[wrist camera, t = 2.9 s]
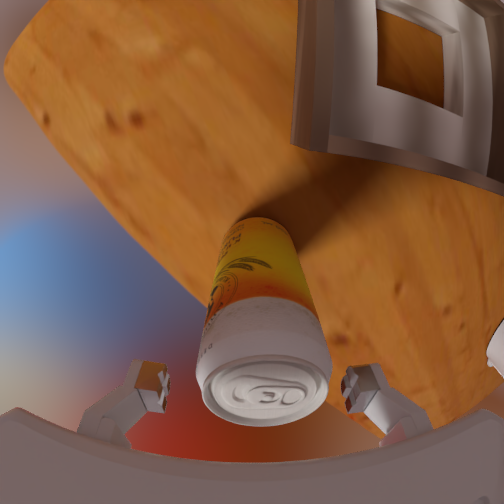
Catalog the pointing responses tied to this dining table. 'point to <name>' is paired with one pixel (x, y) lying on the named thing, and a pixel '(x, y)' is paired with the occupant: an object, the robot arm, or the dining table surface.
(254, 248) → the beer can
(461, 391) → the dining table surface
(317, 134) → the wooden box
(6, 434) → the robot arm
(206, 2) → the dining table surface
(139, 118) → the dining table surface
